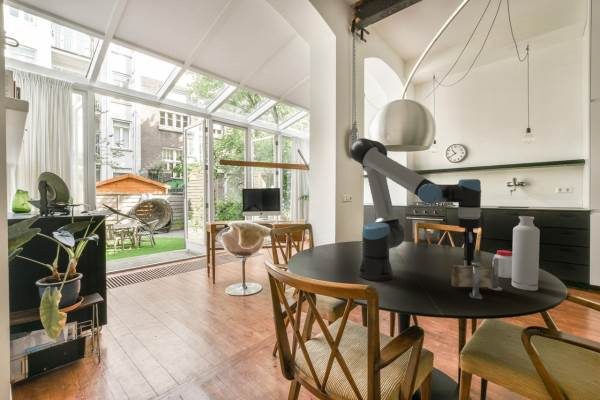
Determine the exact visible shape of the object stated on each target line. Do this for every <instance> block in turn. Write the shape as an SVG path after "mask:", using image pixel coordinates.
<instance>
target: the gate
mask: <svg viewBox="0 0 600 400" xmlns="http://www.w3.org/2000/svg"><path fill="white" fill-rule="evenodd" d="M450 277H451V279H450V281H451V282H450V283H451V286H452V287H456V288H457V287H459V288H460V287H463V288H466V287H468V288H469V287H470V288H473V266H464V265H457V264H451V275H450ZM491 285H492V265H491V266H490V265H481V267H480V273H479V288H488V287H491Z"/></svg>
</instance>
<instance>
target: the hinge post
mask: <svg viewBox="0 0 600 400" xmlns="http://www.w3.org/2000/svg"><path fill="white" fill-rule="evenodd" d="M491 260H492V264H491V267H492V271H491V287H487V288H488V289H489V290H491V291H496V292H502V290H503V287H500V286H499V277H498V274H499V259H498V258H494V257H492V259H491Z"/></svg>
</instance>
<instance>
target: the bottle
mask: <svg viewBox="0 0 600 400" xmlns="http://www.w3.org/2000/svg"><path fill="white" fill-rule="evenodd" d="M518 219H519V223H518V225H515V226H514V227H512V228H513V229H512V251H511V252H512V278H511V286H512V287H514V288H516V289H520V290H525V291H533V292H534V291H538V289H539V285H538V283H539V267H540V263H539V262H540V260H539V259H540V235H541V234H540V233H541V232H540V231H541V230H540V228H539V227H537V226H535V224H534V222H533V221H534V220H535V217H534V216H527V215H526V216H525V215H524V216H523V215H519V216H518Z"/></svg>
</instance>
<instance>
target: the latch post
mask: <svg viewBox="0 0 600 400" xmlns="http://www.w3.org/2000/svg"><path fill="white" fill-rule="evenodd" d="M472 266H473V287H472V292H469V293H468V295H469V297H470V298H472V299H477V300H483V296H482V294H481V293H480V287H479V273H480V267H481V266H482V264H481V262H477V261H473V262H472Z"/></svg>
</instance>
